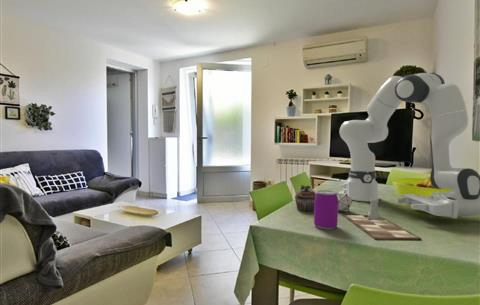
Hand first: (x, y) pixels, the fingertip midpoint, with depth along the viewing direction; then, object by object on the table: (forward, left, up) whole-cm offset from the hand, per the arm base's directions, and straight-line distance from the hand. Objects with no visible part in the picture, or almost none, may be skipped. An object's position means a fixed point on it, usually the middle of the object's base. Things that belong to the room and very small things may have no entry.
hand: (404, 203), depth 109 cm
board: (+9, -14, -6) cm, 18 cm away
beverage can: (+10, -32, -6) cm, 34 cm away
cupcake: (-14, -33, -6) cm, 37 cm away
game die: (-11, -19, -6) cm, 23 cm away
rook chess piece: (0, -11, -6) cm, 13 cm away
